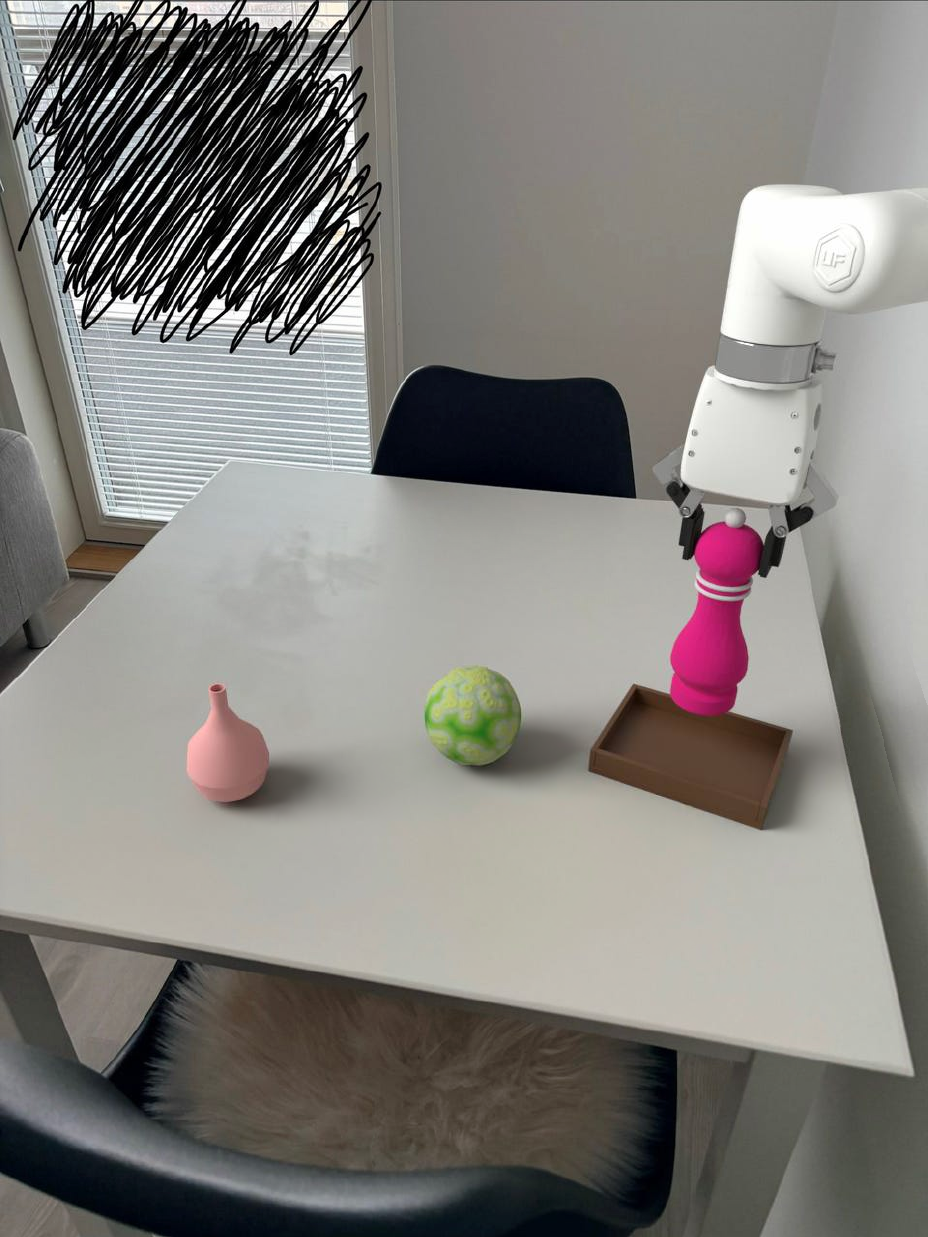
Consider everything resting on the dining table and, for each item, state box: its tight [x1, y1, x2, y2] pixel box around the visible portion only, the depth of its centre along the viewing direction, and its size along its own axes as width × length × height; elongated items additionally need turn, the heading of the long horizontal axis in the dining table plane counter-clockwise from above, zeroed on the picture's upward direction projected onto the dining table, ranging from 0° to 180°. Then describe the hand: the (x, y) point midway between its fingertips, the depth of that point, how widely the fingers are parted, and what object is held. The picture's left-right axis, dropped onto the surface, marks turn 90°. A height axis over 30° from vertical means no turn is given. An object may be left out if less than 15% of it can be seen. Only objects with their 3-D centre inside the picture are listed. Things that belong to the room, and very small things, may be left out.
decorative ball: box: [424, 665, 522, 766], centre depth 88 cm, size 10×10×10 cm
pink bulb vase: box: [185, 682, 270, 803], centre depth 82 cm, size 8×8×12 cm
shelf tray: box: [587, 683, 794, 831], centre depth 89 cm, size 17×13×3 cm
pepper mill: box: [669, 507, 764, 716], centre depth 81 cm, size 7×7×20 cm
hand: (727, 560), depth 78 cm, fingers closed on pepper mill, 6 cm apart
